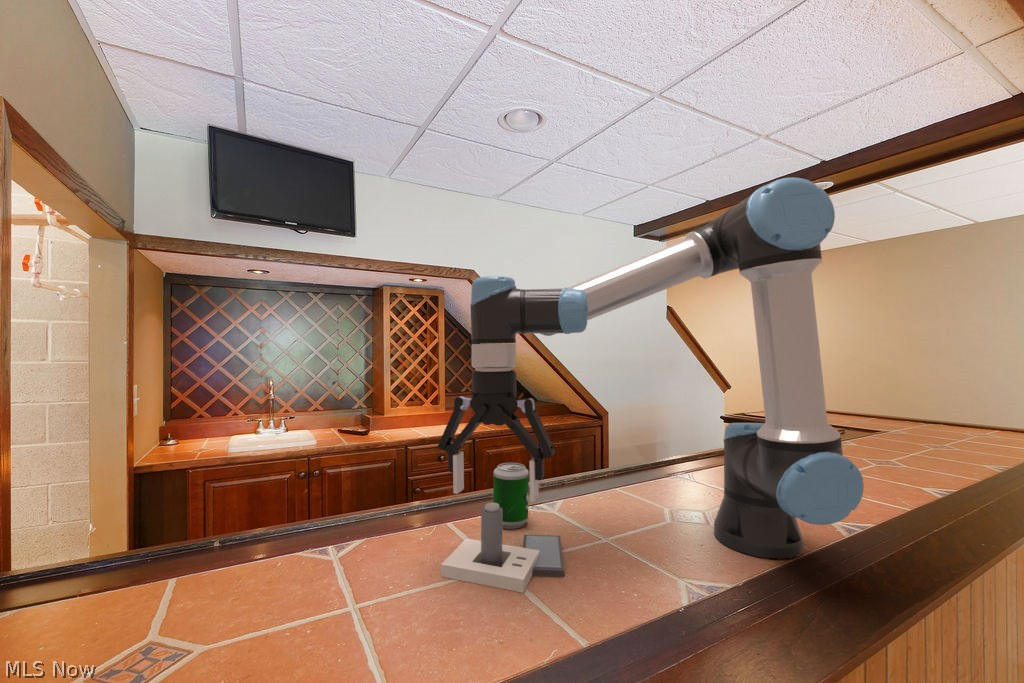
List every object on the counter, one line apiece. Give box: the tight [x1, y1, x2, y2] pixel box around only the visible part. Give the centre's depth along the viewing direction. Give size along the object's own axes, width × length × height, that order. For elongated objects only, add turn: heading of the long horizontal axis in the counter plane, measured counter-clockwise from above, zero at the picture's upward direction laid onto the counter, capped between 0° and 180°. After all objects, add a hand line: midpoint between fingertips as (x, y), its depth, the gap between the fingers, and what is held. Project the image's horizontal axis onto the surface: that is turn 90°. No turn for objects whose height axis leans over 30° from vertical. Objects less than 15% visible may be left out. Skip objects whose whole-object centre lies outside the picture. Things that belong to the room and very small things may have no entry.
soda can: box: [492, 462, 530, 530], centre depth 93 cm, size 8×8×12 cm
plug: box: [480, 502, 504, 567], centre depth 74 cm, size 4×4×11 cm
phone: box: [522, 534, 565, 578], centre depth 79 cm, size 7×13×1 cm, turn 177°
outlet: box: [440, 538, 540, 594], centre depth 74 cm, size 14×10×2 cm
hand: (495, 495), depth 74 cm, fingers open, 13 cm apart
